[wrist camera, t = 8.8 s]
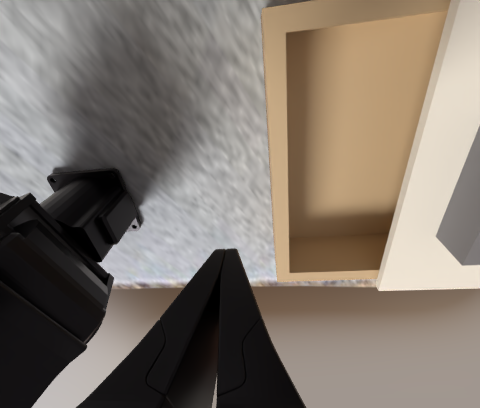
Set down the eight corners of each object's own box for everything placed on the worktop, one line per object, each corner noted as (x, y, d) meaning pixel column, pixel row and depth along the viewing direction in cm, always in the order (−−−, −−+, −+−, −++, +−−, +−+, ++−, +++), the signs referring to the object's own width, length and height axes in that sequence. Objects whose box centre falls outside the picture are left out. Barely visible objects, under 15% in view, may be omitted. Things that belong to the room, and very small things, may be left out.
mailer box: (273, 241, 25) (277, 281, 21) (260, 17, 15) (262, 8, 11) (425, 233, 23) (462, 276, 19) (519, -22, 14) (635, -49, 9)
